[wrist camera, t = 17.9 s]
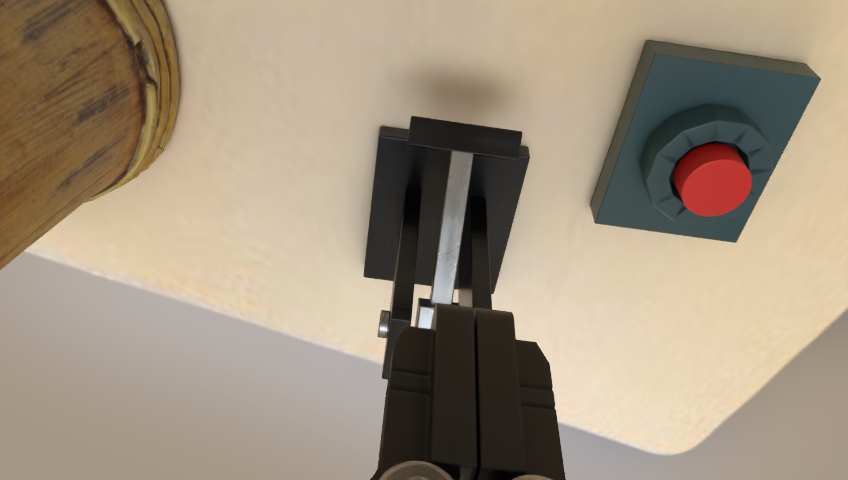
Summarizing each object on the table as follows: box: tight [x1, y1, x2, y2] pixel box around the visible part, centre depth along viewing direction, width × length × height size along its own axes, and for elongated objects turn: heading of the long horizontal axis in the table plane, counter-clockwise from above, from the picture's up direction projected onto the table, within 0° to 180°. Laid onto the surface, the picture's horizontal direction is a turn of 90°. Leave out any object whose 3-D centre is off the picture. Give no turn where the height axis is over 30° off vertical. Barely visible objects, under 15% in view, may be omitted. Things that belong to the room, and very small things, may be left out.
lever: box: [407, 116, 522, 329], centre depth 35 cm, size 12×6×2 cm, turn 172°
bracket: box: [364, 127, 530, 379], centre depth 39 cm, size 11×9×13 cm
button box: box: [590, 40, 821, 243], centre depth 39 cm, size 11×9×4 cm
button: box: [674, 143, 752, 216], centre depth 37 cm, size 4×4×2 cm
